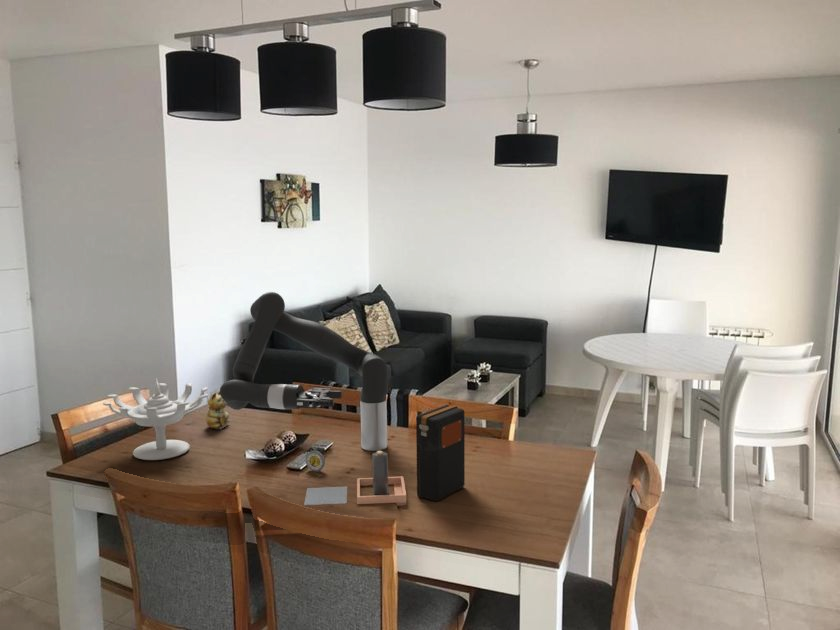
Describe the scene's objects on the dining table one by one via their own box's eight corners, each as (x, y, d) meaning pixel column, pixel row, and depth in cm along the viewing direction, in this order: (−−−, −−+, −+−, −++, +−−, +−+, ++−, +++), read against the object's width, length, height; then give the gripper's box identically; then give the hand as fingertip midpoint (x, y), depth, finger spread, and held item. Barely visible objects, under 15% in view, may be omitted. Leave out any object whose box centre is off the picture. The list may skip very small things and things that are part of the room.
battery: (373, 490, 202) (372, 449, 201) (387, 490, 203) (386, 448, 201) (373, 497, 198) (372, 454, 196) (388, 496, 199) (387, 454, 197)
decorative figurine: (220, 431, 262) (218, 393, 259) (200, 430, 263) (198, 392, 261) (232, 424, 271) (230, 387, 269) (213, 422, 273) (211, 386, 270)
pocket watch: (301, 482, 211) (299, 452, 210) (298, 473, 219) (297, 443, 218) (327, 480, 213) (326, 449, 212) (323, 470, 221) (322, 440, 220)
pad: (307, 491, 205) (307, 488, 204) (347, 489, 206) (347, 486, 206) (304, 508, 193) (304, 505, 193) (346, 506, 194) (346, 503, 194)
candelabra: (84, 466, 226) (77, 387, 222) (149, 433, 260) (144, 364, 256) (175, 475, 218) (170, 392, 214) (230, 439, 252) (226, 368, 248)
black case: (445, 480, 212) (445, 402, 208) (468, 487, 206) (468, 407, 203) (413, 496, 200) (412, 414, 196) (436, 504, 194) (436, 420, 191)
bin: (357, 487, 207) (357, 478, 206) (403, 485, 208) (403, 476, 208) (357, 507, 193) (357, 497, 193) (406, 505, 194) (406, 495, 194)
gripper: (276, 390, 198) (330, 392, 195) (293, 378, 212) (344, 380, 209) (277, 415, 199) (330, 417, 196) (294, 402, 213) (344, 404, 210)
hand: (337, 398), depth 203 cm, fingers open, 8 cm apart
